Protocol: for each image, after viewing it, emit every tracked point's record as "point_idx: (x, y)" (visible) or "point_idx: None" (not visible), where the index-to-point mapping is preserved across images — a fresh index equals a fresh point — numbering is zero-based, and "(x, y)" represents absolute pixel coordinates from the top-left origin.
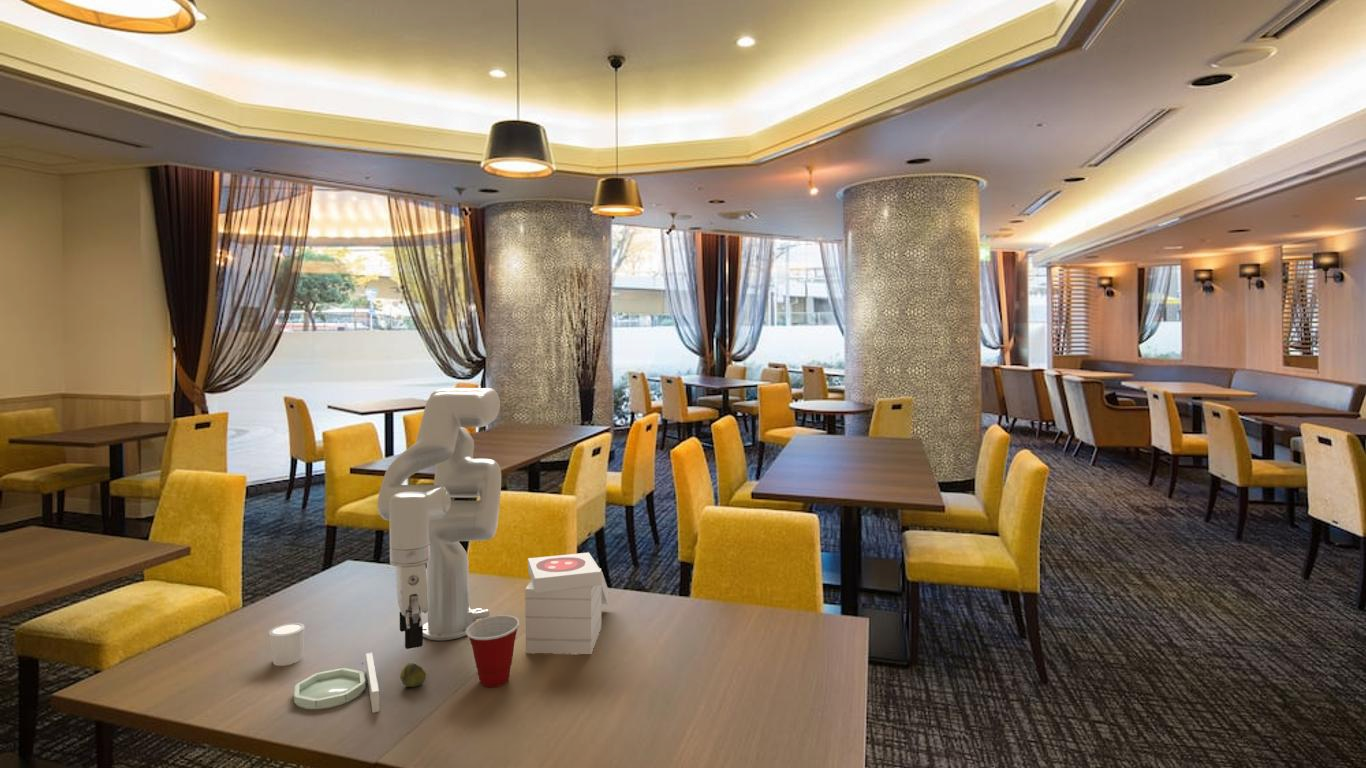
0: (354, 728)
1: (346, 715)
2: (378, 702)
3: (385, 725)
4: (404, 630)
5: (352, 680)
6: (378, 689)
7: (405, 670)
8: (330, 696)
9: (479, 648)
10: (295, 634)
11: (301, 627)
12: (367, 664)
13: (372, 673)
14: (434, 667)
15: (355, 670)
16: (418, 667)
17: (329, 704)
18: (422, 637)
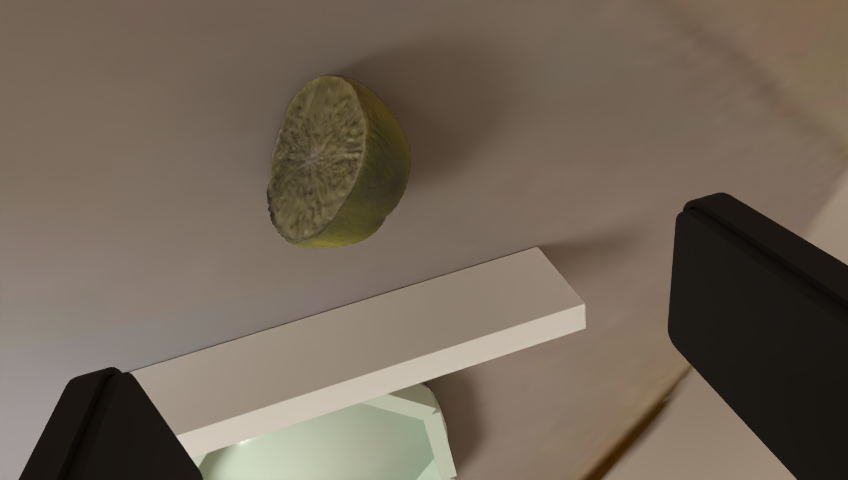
0: (627, 297)
1: (521, 349)
2: (555, 270)
3: (662, 195)
4: (186, 460)
5: None
6: (572, 308)
7: (376, 226)
8: (436, 450)
9: None
10: None
11: None
12: (241, 439)
13: (373, 384)
14: (31, 28)
15: None
16: (377, 148)
17: (444, 427)
18: (799, 240)
